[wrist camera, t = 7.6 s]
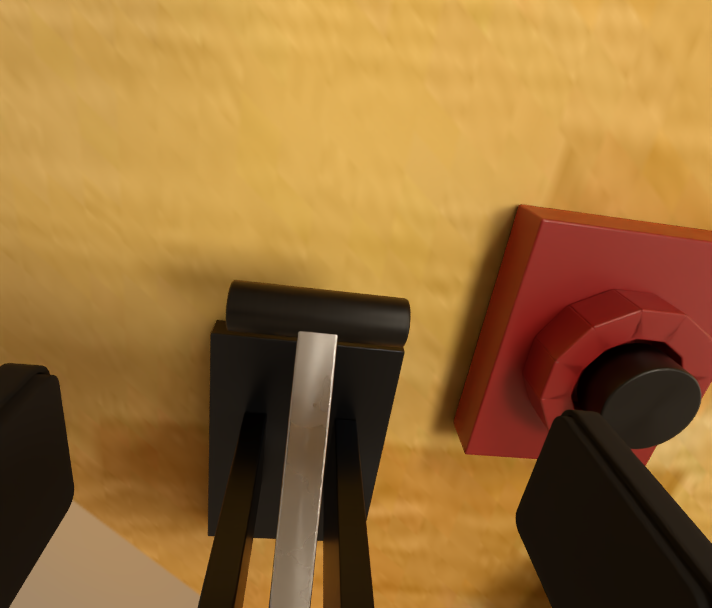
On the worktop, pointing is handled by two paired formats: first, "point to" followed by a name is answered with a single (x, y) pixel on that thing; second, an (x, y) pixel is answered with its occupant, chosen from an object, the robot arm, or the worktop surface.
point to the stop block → (580, 319)
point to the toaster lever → (309, 401)
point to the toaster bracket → (267, 454)
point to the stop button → (640, 394)
